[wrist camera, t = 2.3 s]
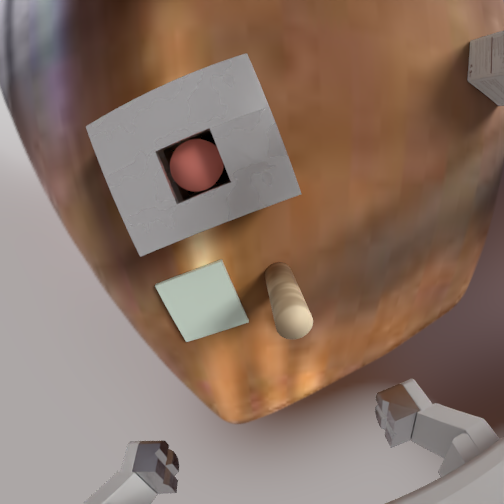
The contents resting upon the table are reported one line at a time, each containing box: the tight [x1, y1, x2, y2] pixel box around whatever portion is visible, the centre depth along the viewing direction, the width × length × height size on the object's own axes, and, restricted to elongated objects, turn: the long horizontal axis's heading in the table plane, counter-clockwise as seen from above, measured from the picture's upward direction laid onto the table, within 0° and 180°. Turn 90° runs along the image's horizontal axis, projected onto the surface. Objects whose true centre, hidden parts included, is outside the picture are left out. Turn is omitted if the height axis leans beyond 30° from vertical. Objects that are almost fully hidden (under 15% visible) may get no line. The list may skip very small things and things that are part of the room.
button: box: [170, 139, 224, 192], centre depth 25 cm, size 4×4×3 cm
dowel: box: [265, 262, 313, 339], centre depth 28 cm, size 3×3×10 cm
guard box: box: [86, 53, 301, 257], centre depth 25 cm, size 14×12×7 cm
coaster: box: [155, 259, 249, 342], centre depth 33 cm, size 8×8×1 cm
